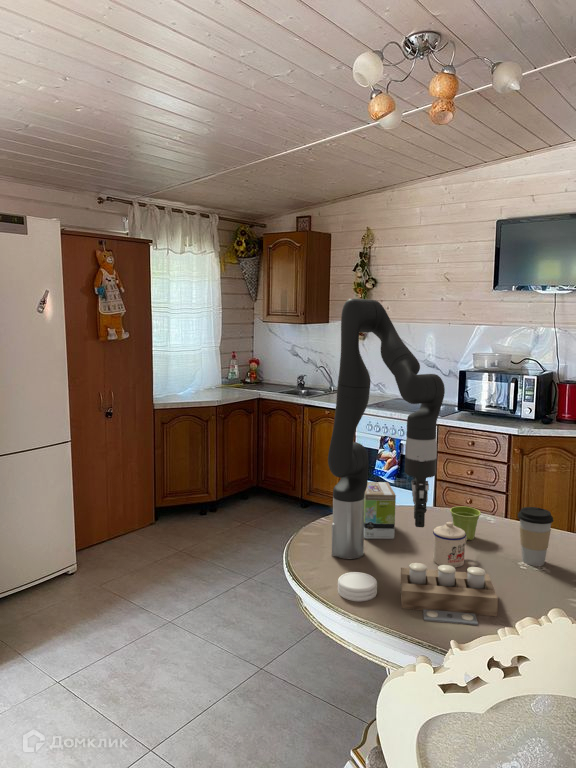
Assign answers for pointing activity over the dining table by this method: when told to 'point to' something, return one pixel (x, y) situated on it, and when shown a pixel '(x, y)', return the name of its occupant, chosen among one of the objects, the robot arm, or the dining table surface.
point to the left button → (417, 573)
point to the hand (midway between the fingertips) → (419, 522)
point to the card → (450, 617)
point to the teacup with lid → (449, 545)
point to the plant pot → (466, 519)
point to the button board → (448, 595)
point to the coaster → (357, 586)
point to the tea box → (379, 511)
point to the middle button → (446, 575)
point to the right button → (475, 578)
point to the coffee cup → (534, 534)
